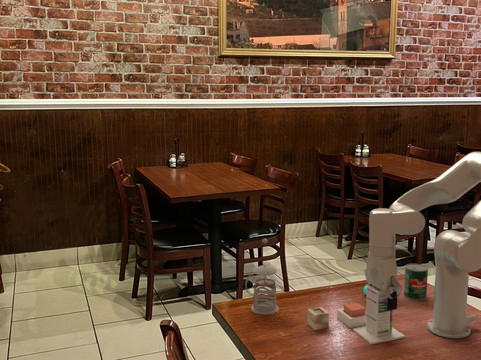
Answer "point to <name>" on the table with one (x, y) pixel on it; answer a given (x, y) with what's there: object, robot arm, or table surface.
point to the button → (354, 309)
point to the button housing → (351, 319)
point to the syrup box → (378, 312)
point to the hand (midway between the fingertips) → (382, 303)
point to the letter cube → (318, 318)
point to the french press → (262, 303)
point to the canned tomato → (415, 281)
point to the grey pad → (383, 338)
